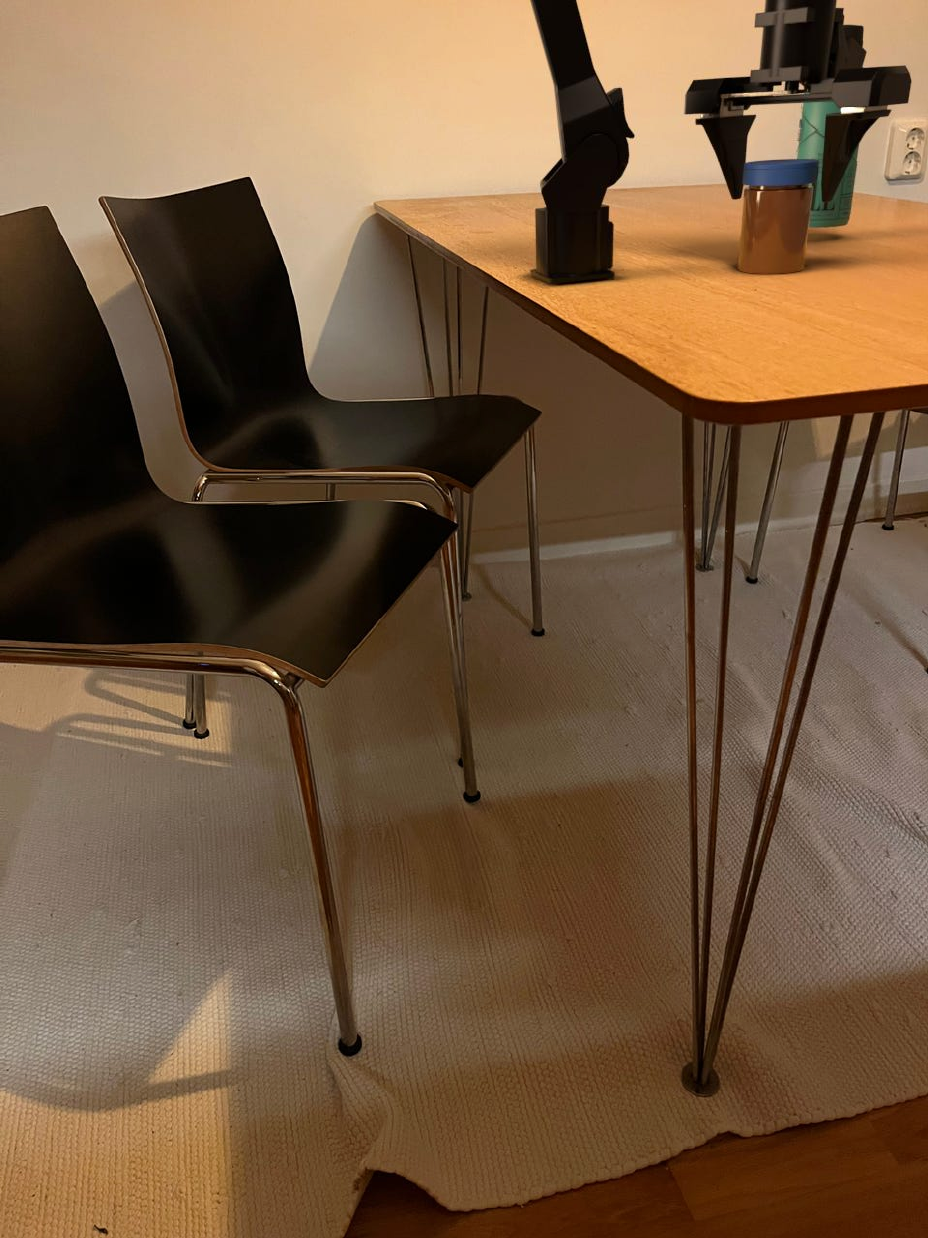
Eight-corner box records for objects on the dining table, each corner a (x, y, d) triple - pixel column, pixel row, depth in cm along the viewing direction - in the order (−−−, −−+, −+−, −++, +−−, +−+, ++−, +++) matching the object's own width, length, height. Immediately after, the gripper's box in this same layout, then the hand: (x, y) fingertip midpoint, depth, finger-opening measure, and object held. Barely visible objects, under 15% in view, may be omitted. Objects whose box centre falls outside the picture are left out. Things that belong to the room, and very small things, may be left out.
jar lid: (824, 178, 84) (826, 157, 84) (809, 185, 80) (812, 163, 79) (752, 179, 87) (754, 159, 86) (734, 186, 82) (735, 165, 82)
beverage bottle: (840, 233, 104) (868, 24, 95) (855, 241, 99) (887, 19, 89) (780, 235, 105) (802, 29, 95) (792, 244, 99) (817, 24, 90)
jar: (758, 275, 84) (768, 174, 80) (725, 267, 89) (733, 171, 85) (816, 269, 85) (829, 169, 81) (781, 261, 90) (791, 166, 86)
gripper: (958, -16, 75) (921, 193, 83) (756, 9, 87) (741, 189, 95) (893, -20, 69) (860, 207, 76) (686, 8, 81) (675, 201, 89)
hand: (780, 200), depth 84 cm, fingers open, 9 cm apart
